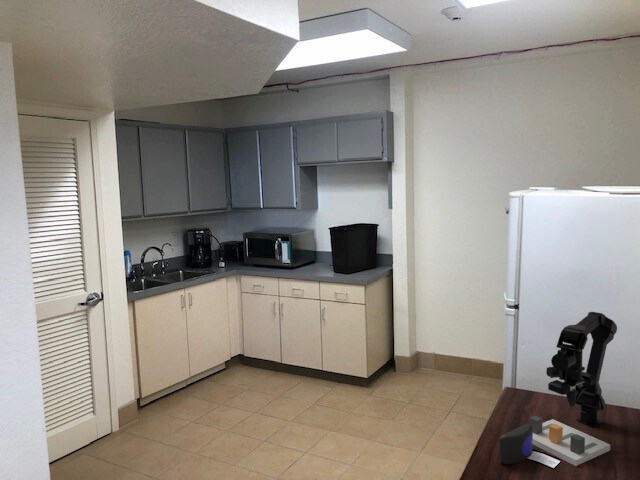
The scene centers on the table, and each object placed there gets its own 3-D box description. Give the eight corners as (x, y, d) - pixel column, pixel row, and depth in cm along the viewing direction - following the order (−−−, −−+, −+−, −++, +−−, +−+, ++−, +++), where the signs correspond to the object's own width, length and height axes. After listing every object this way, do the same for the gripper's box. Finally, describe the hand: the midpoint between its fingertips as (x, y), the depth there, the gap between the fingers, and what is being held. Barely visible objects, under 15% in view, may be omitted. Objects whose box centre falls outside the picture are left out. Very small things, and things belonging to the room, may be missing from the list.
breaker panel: (552, 424, 194) (552, 406, 193) (610, 450, 174) (610, 430, 174) (519, 437, 185) (519, 418, 184) (575, 466, 166) (576, 445, 165)
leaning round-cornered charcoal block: (509, 469, 165) (509, 441, 164) (497, 463, 169) (497, 435, 168) (540, 453, 174) (540, 426, 173) (528, 447, 178) (528, 421, 177)
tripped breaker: (554, 437, 179) (554, 423, 179) (562, 441, 177) (562, 427, 176) (548, 439, 178) (549, 425, 177) (556, 443, 175) (556, 429, 175)
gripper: (569, 351, 193) (568, 392, 195) (535, 361, 184) (534, 404, 186) (597, 360, 183) (596, 403, 185) (563, 371, 174) (562, 416, 176)
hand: (571, 406), depth 183 cm, fingers closed
